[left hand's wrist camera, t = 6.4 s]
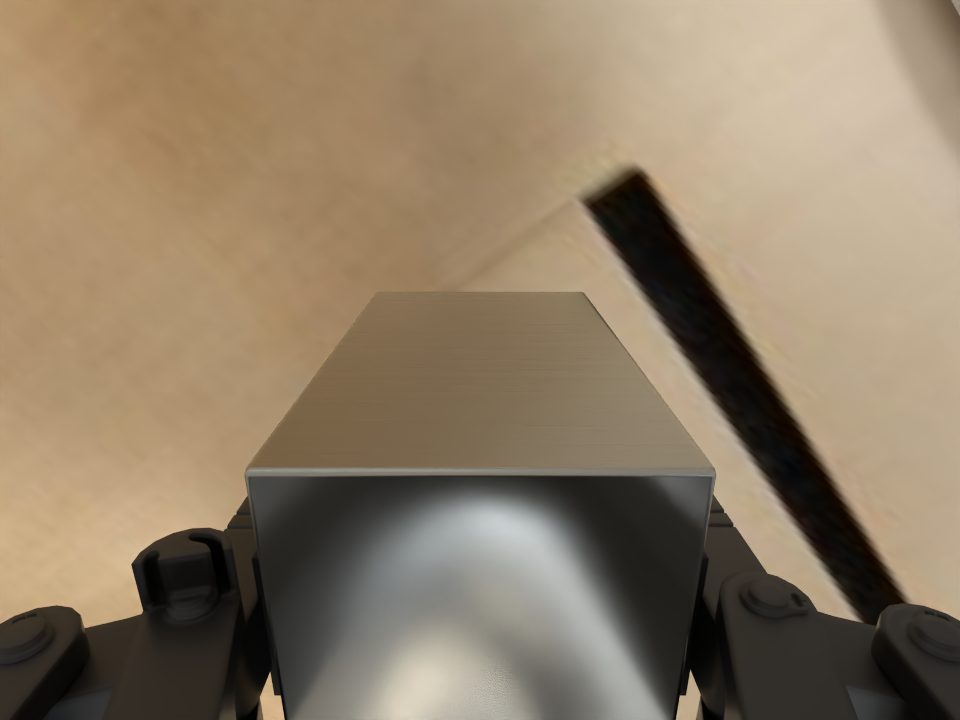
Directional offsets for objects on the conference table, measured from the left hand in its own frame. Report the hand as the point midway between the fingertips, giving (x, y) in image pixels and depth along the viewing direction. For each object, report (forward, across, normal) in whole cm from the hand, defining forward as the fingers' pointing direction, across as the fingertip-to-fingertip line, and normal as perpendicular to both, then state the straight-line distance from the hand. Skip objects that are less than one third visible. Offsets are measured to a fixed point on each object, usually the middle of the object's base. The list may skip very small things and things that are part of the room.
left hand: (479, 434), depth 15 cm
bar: (+1, 0, -7) cm, 7 cm away
